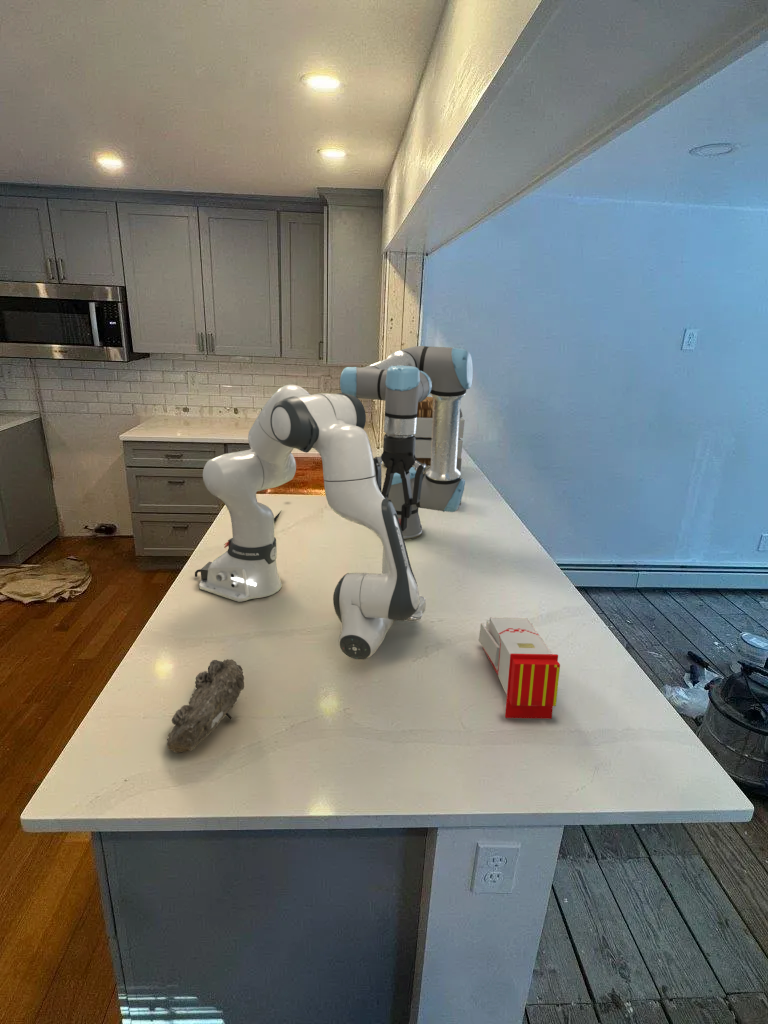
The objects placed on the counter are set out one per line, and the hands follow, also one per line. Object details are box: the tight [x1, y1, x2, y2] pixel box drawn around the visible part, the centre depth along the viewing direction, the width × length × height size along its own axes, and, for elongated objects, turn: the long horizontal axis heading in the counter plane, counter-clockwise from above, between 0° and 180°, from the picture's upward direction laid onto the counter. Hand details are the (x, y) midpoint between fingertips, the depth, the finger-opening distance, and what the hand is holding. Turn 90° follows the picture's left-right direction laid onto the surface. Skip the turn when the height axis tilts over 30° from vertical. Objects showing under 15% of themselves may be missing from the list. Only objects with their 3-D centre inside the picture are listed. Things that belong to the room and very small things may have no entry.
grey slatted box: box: [382, 396, 465, 475], centre depth 268 cm, size 34×33×41 cm
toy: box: [478, 616, 561, 720], centre depth 122 cm, size 12×13×30 cm
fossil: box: [166, 658, 245, 754], centre depth 106 cm, size 22×10×15 cm
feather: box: [274, 510, 282, 524], centre depth 212 cm, size 2×28×2 cm
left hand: (392, 587), depth 147 cm, fingers closed on bottle, 5 cm apart
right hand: (394, 527), depth 140 cm, fingers closed on cap, 4 cm apart
